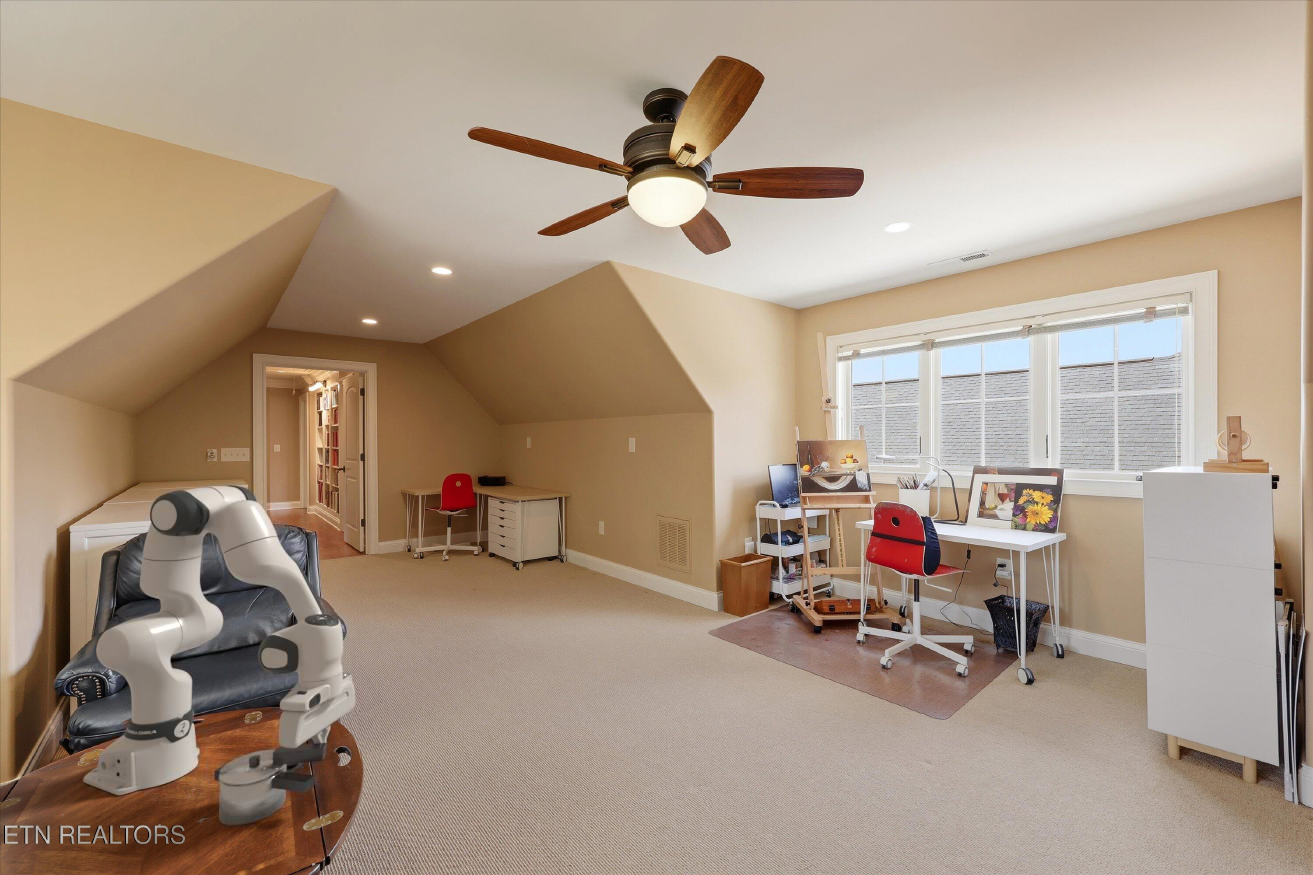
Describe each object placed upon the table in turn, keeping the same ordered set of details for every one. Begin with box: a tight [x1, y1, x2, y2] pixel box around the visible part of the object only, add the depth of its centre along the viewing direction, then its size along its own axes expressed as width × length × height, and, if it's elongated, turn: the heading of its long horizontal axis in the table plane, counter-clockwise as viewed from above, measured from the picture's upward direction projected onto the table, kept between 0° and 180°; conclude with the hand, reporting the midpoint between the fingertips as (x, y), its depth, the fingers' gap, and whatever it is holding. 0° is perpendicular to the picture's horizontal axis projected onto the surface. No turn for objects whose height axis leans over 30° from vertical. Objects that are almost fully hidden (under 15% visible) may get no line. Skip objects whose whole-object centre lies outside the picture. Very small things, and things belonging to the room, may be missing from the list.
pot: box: [214, 763, 316, 826], centre depth 125 cm, size 23×12×8 cm, turn 80°
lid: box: [218, 742, 327, 786], centre depth 127 cm, size 20×12×4 cm, turn 104°
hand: (319, 747), depth 131 cm, fingers closed
